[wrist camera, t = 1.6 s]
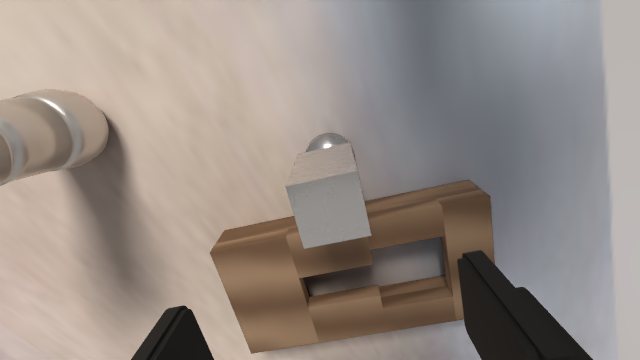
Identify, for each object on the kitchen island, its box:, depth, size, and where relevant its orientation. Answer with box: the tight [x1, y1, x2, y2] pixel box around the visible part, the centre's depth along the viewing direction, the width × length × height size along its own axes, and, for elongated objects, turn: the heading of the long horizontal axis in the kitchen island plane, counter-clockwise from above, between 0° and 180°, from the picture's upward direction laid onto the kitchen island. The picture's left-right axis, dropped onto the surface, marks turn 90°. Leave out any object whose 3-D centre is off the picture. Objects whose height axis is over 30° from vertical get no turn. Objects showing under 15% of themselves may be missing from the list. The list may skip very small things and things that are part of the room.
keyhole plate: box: [210, 180, 495, 354], centre depth 30 cm, size 12×24×4 cm, turn 104°
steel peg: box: [286, 133, 371, 249], centre depth 23 cm, size 4×4×12 cm
